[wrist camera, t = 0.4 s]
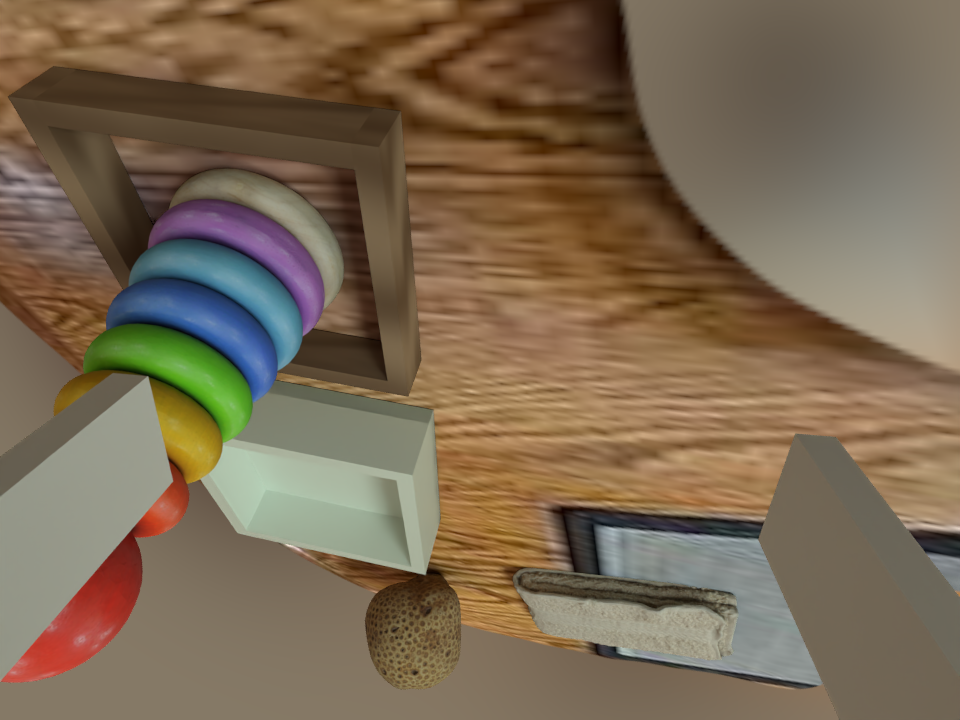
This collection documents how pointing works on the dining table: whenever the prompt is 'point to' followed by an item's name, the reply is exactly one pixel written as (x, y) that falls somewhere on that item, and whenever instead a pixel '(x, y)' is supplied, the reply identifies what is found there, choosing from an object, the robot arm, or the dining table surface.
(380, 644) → the natural sponge
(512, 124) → the dining table surface
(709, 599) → the washcloth
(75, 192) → the walnut holder
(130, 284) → the stacking toy
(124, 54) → the dining table surface
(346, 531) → the sage tray
